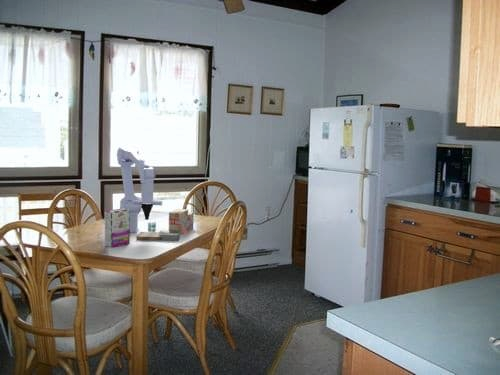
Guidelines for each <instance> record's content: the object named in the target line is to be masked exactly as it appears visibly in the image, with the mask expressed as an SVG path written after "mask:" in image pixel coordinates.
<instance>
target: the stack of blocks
mask: <svg viewBox="0 0 500 375" xmlns="http://www.w3.org/2000/svg"><path fill="white" fill-rule="evenodd" d="M194 221H195V218H194V212H190V211H189V209H186V208H185V209H184V208H176V209H174V210H172V211H169V212H168V231H180V237H182V236H183V235H185V234H187V233H188V232H190V231H192V230H193V229H194Z"/></svg>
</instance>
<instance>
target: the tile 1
mask: <svg viewBox="0 0 500 375" xmlns="http://www.w3.org/2000/svg"><path fill="white" fill-rule="evenodd" d="M169 233H170V231H169V230H165V229H163V228H161V229H160V230H159V235H161V236H162V235H169Z"/></svg>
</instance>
